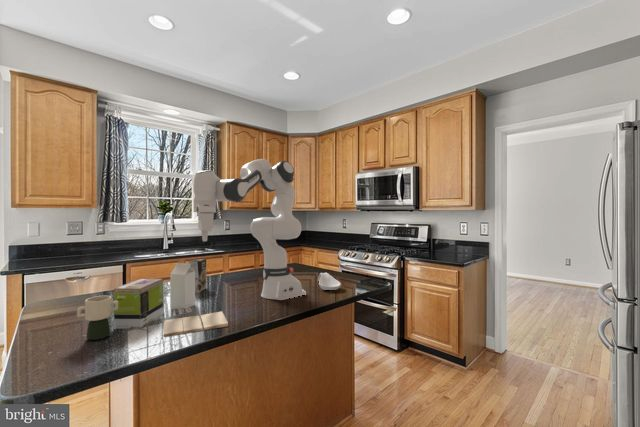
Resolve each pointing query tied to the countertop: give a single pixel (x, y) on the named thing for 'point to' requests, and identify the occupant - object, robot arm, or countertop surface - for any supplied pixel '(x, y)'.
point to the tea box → (138, 303)
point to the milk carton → (182, 286)
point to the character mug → (98, 315)
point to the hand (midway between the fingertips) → (204, 241)
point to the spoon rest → (328, 282)
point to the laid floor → (182, 325)
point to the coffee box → (199, 273)
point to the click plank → (214, 320)
